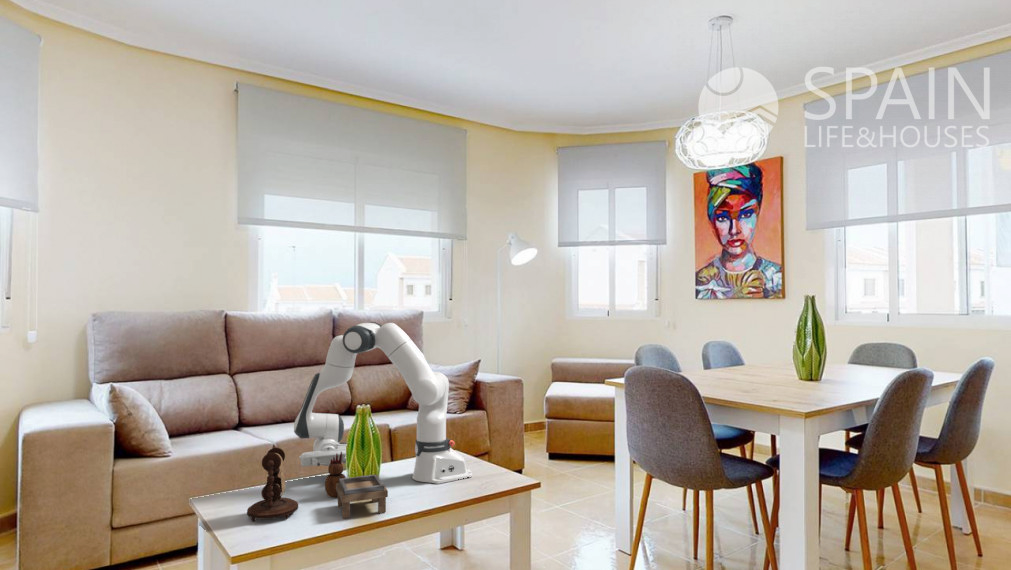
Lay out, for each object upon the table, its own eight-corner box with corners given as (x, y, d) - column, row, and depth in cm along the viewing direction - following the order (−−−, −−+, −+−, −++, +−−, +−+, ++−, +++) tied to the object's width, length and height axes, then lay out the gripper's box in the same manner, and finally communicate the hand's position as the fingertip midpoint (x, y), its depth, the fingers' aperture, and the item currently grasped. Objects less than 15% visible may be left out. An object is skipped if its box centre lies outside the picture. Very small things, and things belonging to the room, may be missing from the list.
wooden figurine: (348, 493, 198) (348, 450, 199) (341, 499, 193) (342, 454, 193) (329, 493, 199) (329, 449, 200) (322, 498, 193) (322, 454, 194)
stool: (379, 499, 193) (379, 473, 193) (387, 513, 180) (387, 485, 180) (335, 505, 187) (336, 478, 187) (341, 519, 174) (341, 491, 175)
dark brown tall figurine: (294, 521, 173) (294, 454, 174) (241, 525, 170) (242, 457, 171) (301, 505, 187) (302, 443, 188) (253, 508, 184) (253, 445, 185)
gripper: (298, 447, 216) (301, 456, 203) (354, 442, 224) (360, 450, 211) (298, 464, 215) (301, 474, 203) (354, 458, 224) (360, 467, 211)
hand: (331, 462), depth 207 cm, fingers open, 8 cm apart
